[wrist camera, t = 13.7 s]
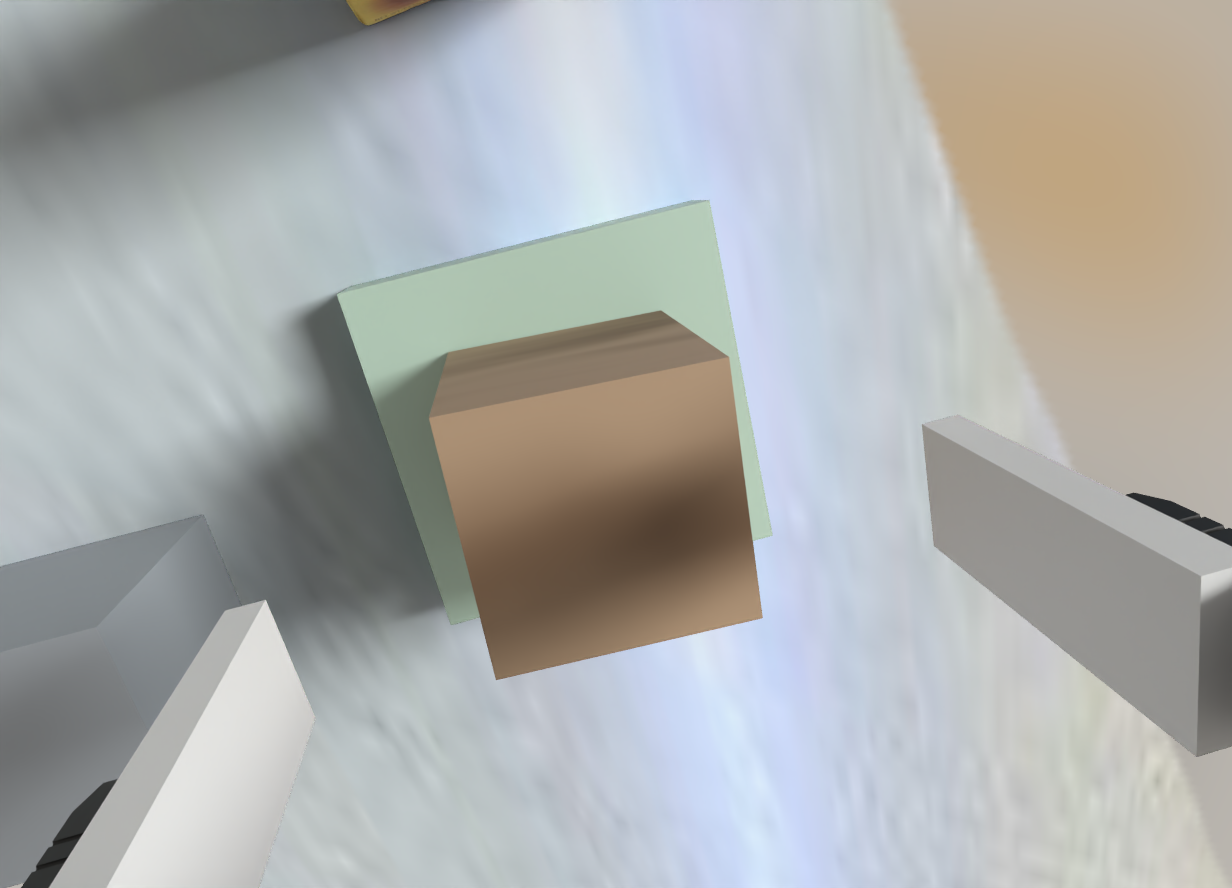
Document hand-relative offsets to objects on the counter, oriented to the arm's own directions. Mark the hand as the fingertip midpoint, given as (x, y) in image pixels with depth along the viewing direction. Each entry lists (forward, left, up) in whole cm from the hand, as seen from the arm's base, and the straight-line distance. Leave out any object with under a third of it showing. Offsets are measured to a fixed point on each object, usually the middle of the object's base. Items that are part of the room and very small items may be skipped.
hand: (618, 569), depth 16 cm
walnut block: (+1, 0, -12) cm, 12 cm away
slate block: (+4, -17, -14) cm, 23 cm away
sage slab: (0, 0, -15) cm, 15 cm away
